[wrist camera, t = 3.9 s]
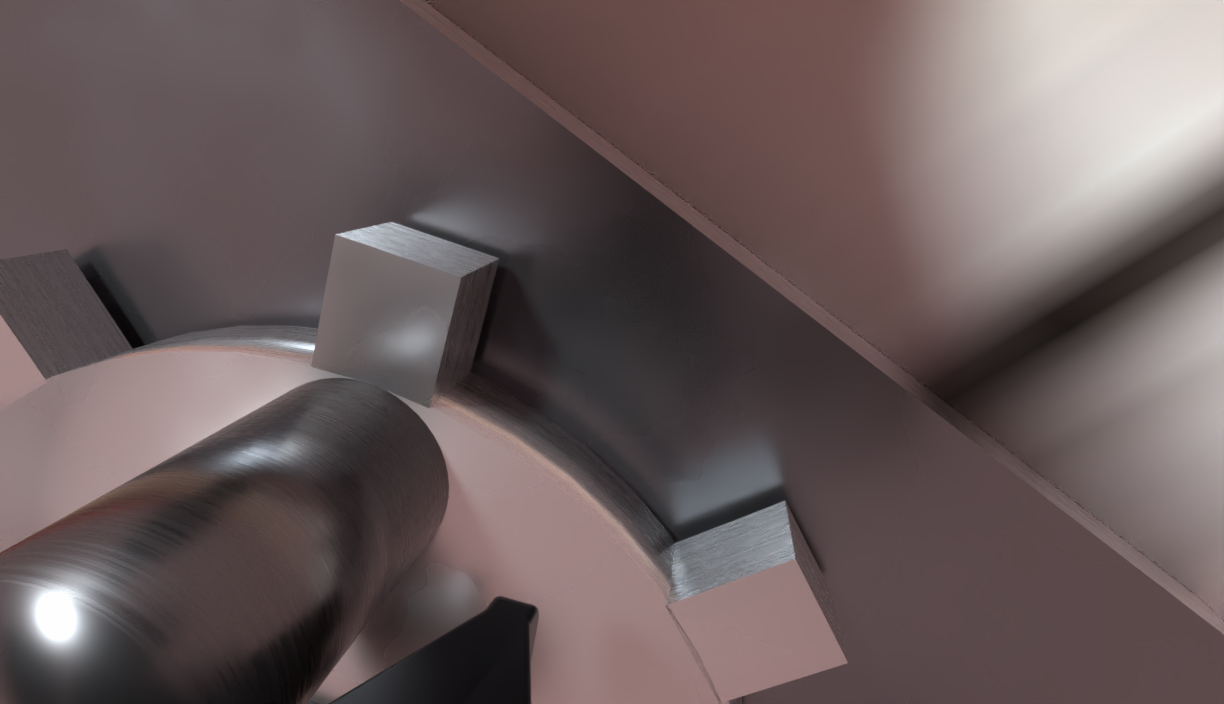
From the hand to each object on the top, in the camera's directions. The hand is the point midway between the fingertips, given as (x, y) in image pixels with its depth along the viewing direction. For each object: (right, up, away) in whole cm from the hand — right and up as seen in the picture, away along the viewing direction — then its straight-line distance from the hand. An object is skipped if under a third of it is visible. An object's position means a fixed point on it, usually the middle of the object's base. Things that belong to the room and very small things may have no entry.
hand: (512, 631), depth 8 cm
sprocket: (-4, -4, +6) cm, 8 cm away
